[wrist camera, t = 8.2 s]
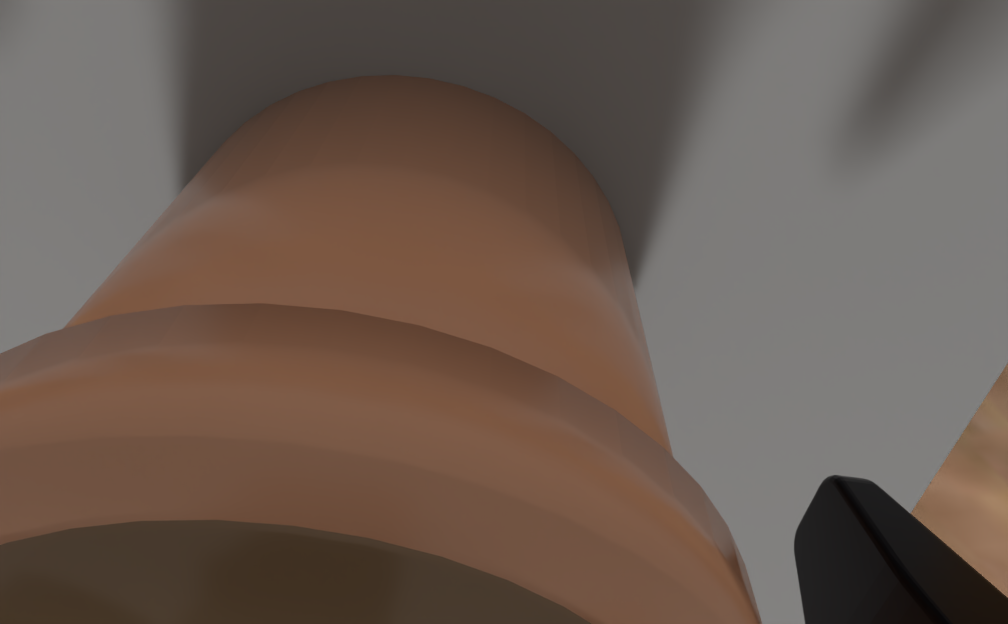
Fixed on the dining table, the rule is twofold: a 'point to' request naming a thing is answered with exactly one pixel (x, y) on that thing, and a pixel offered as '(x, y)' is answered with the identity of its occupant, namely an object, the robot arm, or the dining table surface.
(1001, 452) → the dining table surface
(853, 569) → the robot arm
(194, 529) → the pot
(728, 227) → the grey mat
